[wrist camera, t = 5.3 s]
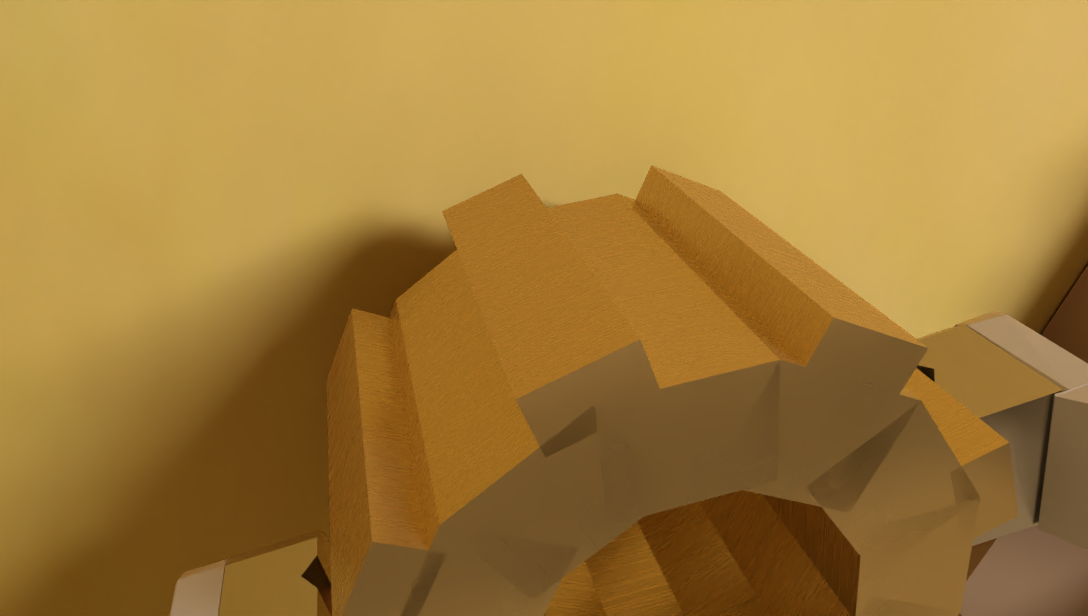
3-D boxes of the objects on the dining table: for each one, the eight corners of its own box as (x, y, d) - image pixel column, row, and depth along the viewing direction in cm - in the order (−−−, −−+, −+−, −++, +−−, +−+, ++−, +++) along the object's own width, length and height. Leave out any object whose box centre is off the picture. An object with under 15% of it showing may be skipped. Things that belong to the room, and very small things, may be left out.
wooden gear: (677, 612, 13) (803, 865, 10) (264, 554, 11) (241, 862, 8) (887, 253, 11) (1142, 417, 8) (430, 83, 9) (506, 211, 5)
